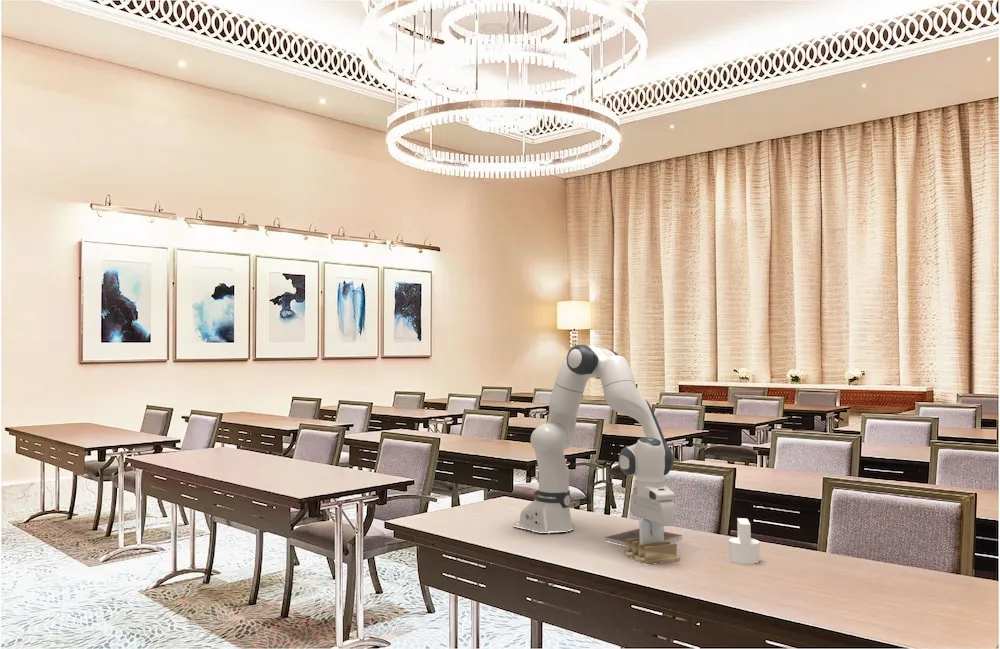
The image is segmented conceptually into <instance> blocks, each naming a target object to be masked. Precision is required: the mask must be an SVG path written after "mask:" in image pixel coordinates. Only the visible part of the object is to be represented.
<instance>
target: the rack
mask: <svg viewBox="0 0 1000 649" xmlns="http://www.w3.org/2000/svg"><path fill="white" fill-rule="evenodd" d="M677 547H678V546H677V543H670V541H664V542H654V543H645V544H640V538H633V539H627V547H626V551H623V555H624V554H626V555H628V556H630V557H632V558H634V559H633V560H635V559H636V560H635V561H637V560H638V561H637V562H639V561H640V562H639V563H641V562H642V563H641V564H643V563H645V564H650V565H654V564H653V563H659V564H662V563H661V562H667V563H673V562H672V561H675V562H680V561H681V560H680V557H679V556H678V553H677ZM626 555H625V556H626ZM628 556H627V557H628ZM630 557H629V558H630ZM632 558H631V559H632ZM645 564H644V565H645Z"/></svg>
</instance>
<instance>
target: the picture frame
mask: <svg viewBox="0 0 1000 649" xmlns="http://www.w3.org/2000/svg"><path fill="white" fill-rule="evenodd" d="M633 538H640V534H639V528H635V529H633V530H632V529H631V530H628V531H624V532H621V533H616V534H612V535H609V536H605V537H604V542H605V541H610V542H613V543H617V544H621V545H625V546H627V539H633ZM679 540H681V541H683V534H678V533H673V532H669V531H664V541H670V544H673V543H672V542H674V543H676V542H675V541H677V542H680V541H679Z"/></svg>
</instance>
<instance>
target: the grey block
mask: <svg viewBox="0 0 1000 649" xmlns="http://www.w3.org/2000/svg"><path fill="white" fill-rule="evenodd" d="M638 524H639V525H638V529H639V534H640V544H645V543H654V542H664V532H665V526H662V525H660V527H659V529H658V535H657V536H652V535H651V534H650V533H651V532H650V530H652V527H653V525H652V522H651V521H649V520H646V521H643V520H639V522H638Z"/></svg>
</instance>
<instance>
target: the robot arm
mask: <svg viewBox="0 0 1000 649" xmlns="http://www.w3.org/2000/svg"><path fill="white" fill-rule="evenodd" d="M631 369H632V368H631V367H630V364H629V362H628V360H627V359H626V358H625V357H624V356H622V355H619V354H618V352H615V351H614V350H612V349H608V348H605V347H602V346H593V345H586V344H577V345H574V346H572V347H571V348H570V349H569V350H568V352H567V355H566V359H565V360H564V361H563V363H562V364H561V366H560V369H559V370H558V373H557V375H556V378H555V381H554V384H553V387H552V390H551V393H550V397H549V400H548V407H549V410H548V419H547V422H546V423H543V424H539V425H538V426H537V427H536V428H535V429H534V430H533V431H532V433H531V435H530V445H531V447H532V448H533V450H534V452H535V453H534V454H535V459H536V463H537V467H538V469H537V470H538V489H537V490H535V491H533V492H532V496H535V497H534V500H533V501H531V502H530V503H529V504H528V505H526V506H525V507H524V508H522V509H521V511H520V514H519V515H520V516H519V521H516V522H515V523H519V524H515V523H514V524H513V526H514V525H515V526H519V527H523V528H526V529H530V530H534V531H538V532H548V531H568V530H571V529H573V528H574V525H573V522H572V515H571V509H570V506H571V490H570V469H569V467H568V465H567V462H566V457H565V452H564V451H565V450H567V449H568V448H570V447H571V445H573V443H574V442H575V439H576V425H577V417H578V412H579V409H580V408H579V407H580V405H581V402H582V399H583V395H584V393H585V389H586V385H587V382H588V380H590V379H591V378H592V379H593V378H594V379H596V380H597V379H599V380H600V381H601V386H602V391H603V395H604V399H605V401H606V404H607V406H609V408H610V409H612V410H613V411H615V412H616V413H618V414H621V415H624V416H626V417H627V416H628V417H630V418H632V419H634V420H636V421H637V422H638V423H639V424H640V426H641V427H642V429H643V433H644V435H645V437H640V438H639V439H638V440H637V442H636V443H634V444H632V445H630V446H626V447H623V448H622V449H621V450H620V451H619V452H620V453H619V454H618V459H617V460H618V468H619V469H620V471H621V472H622V473H623V474H624V475H625V476H630V477H637V478H636V486H634V488H633V489H632V492H631V495H630V503H629V504H630V505H629V511H630V513H631V515H632V516H635V517H638V518H641V519H642V521H646V520H649V521H651V522H652V525H653V527H652V530H650V532H651V533H650V534H651V535H652V536H657V535H658V529H659V527H660V525H662V526H664V527H669V526H670V527H671V526H673V525H674V524H675V520H676V519H675V517H676V516H675V515H676V514H675V513H676V512H675V503H674V501H673V500H675V499H676V494H675V492H673V490H671V489H670V488H669V487H668V486H667V485H666V480H665V476H666V475H667V474H669V473H670V472H671V470H672V469H673V466H674V464H675V458H674V454H673V451H672V450H671V448H670V446H669V445H668V442H667V441H666V438H665V437H664V433H663V431H662V429H661V427H660V424H659V421H658V420H657V417H656V415H655V412H654V410H653V409H652V406H651V404H650V403H649V401H648V400H647V399H645V398H644V397H643V396H642V395H641V393H640V392H639V390H638V389H637V385H636V381H635V378H634V374H633V372H632V370H631Z"/></svg>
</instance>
